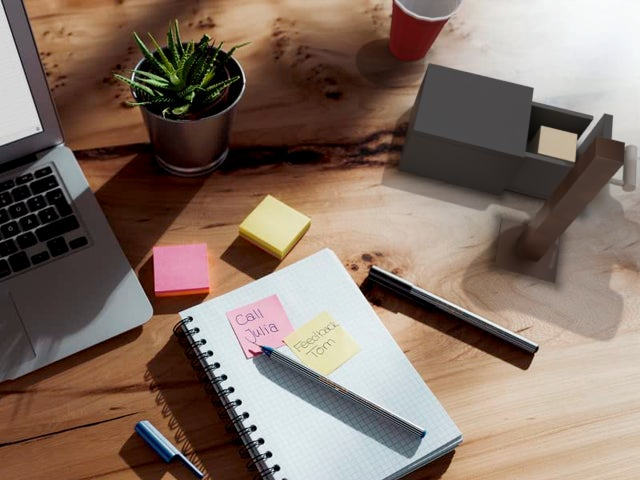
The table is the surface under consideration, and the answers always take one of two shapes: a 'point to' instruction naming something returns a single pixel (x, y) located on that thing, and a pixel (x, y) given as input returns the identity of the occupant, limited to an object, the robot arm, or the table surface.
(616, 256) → the table surface
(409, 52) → the plastic cup
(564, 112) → the drawer
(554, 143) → the block
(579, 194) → the stand
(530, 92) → the cabinet
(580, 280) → the table surface
